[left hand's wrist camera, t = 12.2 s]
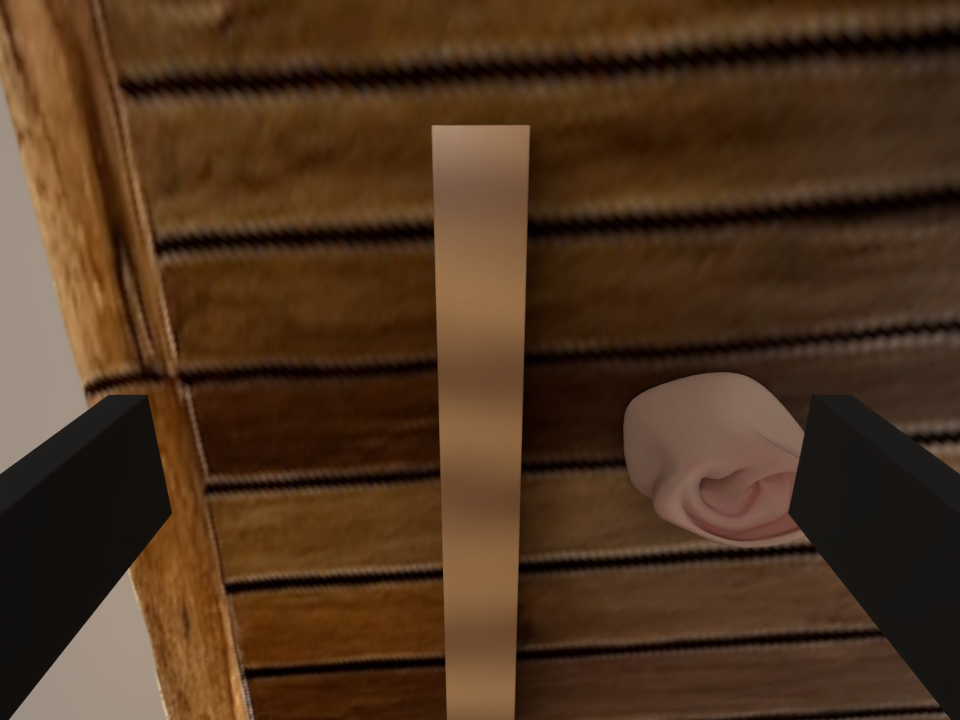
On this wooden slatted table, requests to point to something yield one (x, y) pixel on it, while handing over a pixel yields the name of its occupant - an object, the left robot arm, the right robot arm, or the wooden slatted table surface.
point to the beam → (480, 403)
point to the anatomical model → (716, 458)
